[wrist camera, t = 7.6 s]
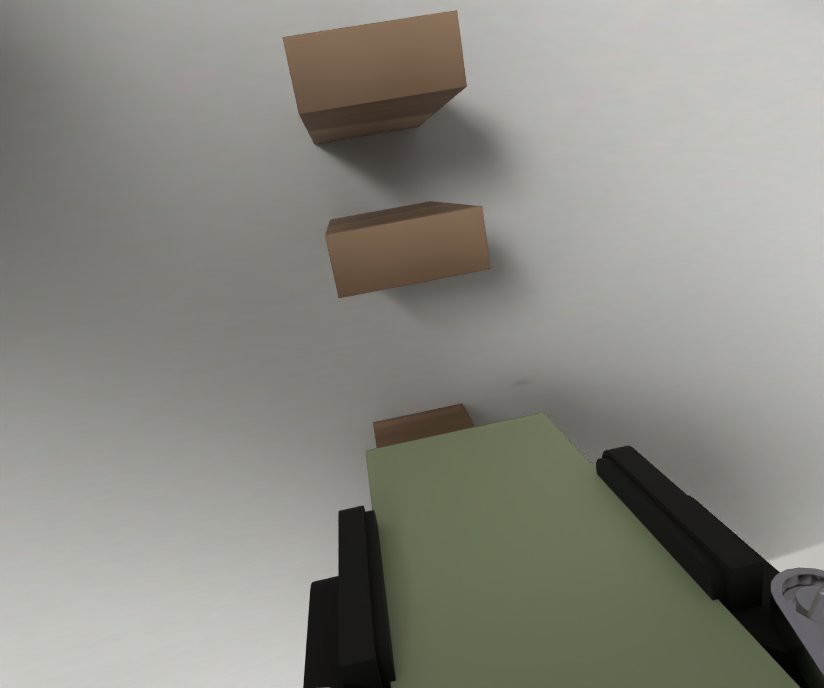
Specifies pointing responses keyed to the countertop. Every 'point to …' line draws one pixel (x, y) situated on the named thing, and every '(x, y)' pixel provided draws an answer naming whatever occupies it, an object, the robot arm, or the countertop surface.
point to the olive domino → (538, 574)
